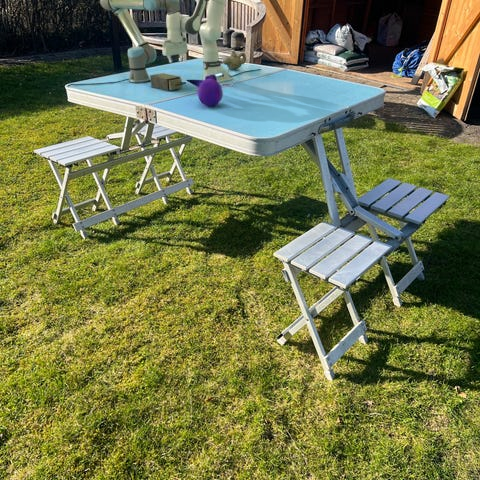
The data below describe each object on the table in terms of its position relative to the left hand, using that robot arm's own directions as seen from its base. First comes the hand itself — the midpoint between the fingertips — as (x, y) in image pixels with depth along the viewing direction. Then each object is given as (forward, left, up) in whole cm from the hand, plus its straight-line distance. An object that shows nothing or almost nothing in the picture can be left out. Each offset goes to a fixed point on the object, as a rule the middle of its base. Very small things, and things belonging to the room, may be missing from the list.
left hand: (177, 50), depth 331 cm
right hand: (-8, -37, -2) cm, 38 cm away
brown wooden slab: (-15, -26, -21) cm, 36 cm away
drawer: (-12, -31, -20) cm, 38 cm away
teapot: (+50, +22, -21) cm, 59 cm away
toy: (+1, -82, -21) cm, 84 cm away
